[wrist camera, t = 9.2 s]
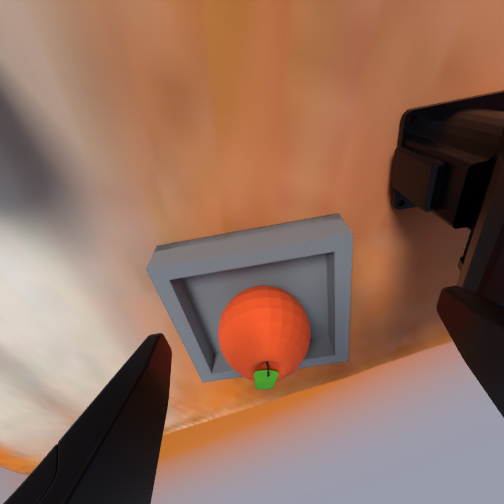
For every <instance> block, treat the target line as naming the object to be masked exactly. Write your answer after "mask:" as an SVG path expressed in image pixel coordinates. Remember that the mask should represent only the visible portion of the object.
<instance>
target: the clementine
mask: <svg viewBox="0 0 504 504" xmlns="http://www.w3.org/2000/svg"><path fill="white" fill-rule="evenodd" d="M310 335H311V333H310V324H309V321H308V317H307V315H306V313H305V311H304V308H303V307H302V306H301V304H300V303H299V302H298V301H297V300H296V299H295V298H294V297H293V296H292V295H291V294H289V293H288V292H286V291H285V290H282V289H279V288H277V287H273V286H265V285H263V286H255V287H251V288H248V289H246V290H244V291H242V292H240V293H238V294H237V295H236V296H235V297H233V298H232V299H231V300H230V302H229V303H228V304H227V306H226V307H225V309H224V311H223V312H222V315H221V319H220V323H219V328H218V337H219V344H220V349H221V351H222V353H223V356H224V358H225V359H226V361H227V362H228V364H229V365H230V366H231V367H232V368H233V369H234V370H235V371H236V372H237V373H239V374H240V375H242V376H244V377H246V378H249V379H251V380H254V381H255V387H256V389H266V390H268V389H271V388H272V387H273V386H274V384H275V382H276V380H279V379H282V378H284V377H286V376H287V375H289V374H290V373H292V372H293V371H295V370H296V369H297V368H298V367H299V365H300V364H301V362H302V361H303V360H304V358H305V356H306V354H307V352H308V348H309V344H310Z"/></svg>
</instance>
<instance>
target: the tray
mask: <svg viewBox="0 0 504 504" xmlns="http://www.w3.org/2000/svg"><path fill="white" fill-rule="evenodd" d="M352 245H353V233H352V231H351V230H350V229H349V227H348V226H347V224H346V223H345V222H344V220H343V219H342V218H341V216H340V215H339V213H338V214H332V215H326V216H321V217H315V218H310V219H304V220H299V221H293V222H287V223H282V224H276V225H271V226H265V227H260V228H254V229H248V230H243V231H237V232H232V233H226V234H221V235H215V236H209V237H204V238H198V239H193V240H187V241H182V242H176V243H170V244H165V245H159V246H157V247H156V249H155V251H154V253H153V255H152V258H151V260H150V262H149V264H148V266H147V269H146V270H147V272H148V274H149V276H150V278H151V280H152V282H153V284H154V286H155V288H156V290H157V292H158V294H159V296H160V298H161V300H162V302H163V304H164V306H165V308H166V310H167V312H168V314H169V316H170V318H171V320H172V322H173V324H174V326H175V328H176V330H177V332H178V334H179V336H180V338H181V340H182V342H183V344H184V346H185V348H186V350H187V352H188V354H189V356H190V358H191V360H192V362H193V364H194V366H195V368H196V370H197V372H198V374H199V376H200V378H201V380H202V382H210V381H217V380H223V379H230V378H237V377H244V376H242V375H240V374H239V373H237V372H236V371H235V370H234V369H233V368H232V367H231V366H230V365H229V364H228V362H227V361H226V359H225V358H224V356H223V353H222V351H221V349H220V344H219V337H218V328H219V323H220V319H221V315H222V312H223V311H224V309H225V307H226V306H227V304H228V303H229V302H230V300H231V299H232V298H233V297H235V296H236V295H237V294H238V293H240V292H242V291H244V290H246V289H248V288H251V287H255V286H263V285H265V286H273V287H277V288H279V289H282V290H285V291H286V292H288V293H289V294H291V295H292V296H293V297H294V298H295V299H296V300H297V301H298V302H299V303H300V304H301V306H302V307H303V308H304V311H305V313H306V315H307V317H308V321H309V324H310V333H311V335H310V344H309V348H308V352H307V354H306V356H305V358H304V360H303V361H302V362H301V364H300V365H299V367H298V368H305V367H312V366H318V365H325V364H332V363H339V362H345V361H348V356H349V328H350V300H351V272H352ZM298 368H297V369H298Z"/></svg>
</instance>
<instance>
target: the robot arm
mask: <svg viewBox="0 0 504 504" xmlns="http://www.w3.org/2000/svg"><path fill="white" fill-rule="evenodd" d="M411 115H414V118H413V120H412V121H411V122H409V117H410V116H411ZM391 186H392V187H393V192H392V200H391V204H392V206H393V207H394V208H395V209H406V208H411V207H417V206H418V207H420V208H421V209H423V210H424V211H425V212H430V211H431V212H432V213H434V214H435V215H437V216H438V217H439V218H441V219H442V220H444V221H445V222H446V223H448V224H449V225H451V226H452V227H453V228H455V229H458V228H464V227H466V228H468V229H469V230H471V232H470V235H469V239H468V242H467V245H466V248H465V251H464V255H463V256H462V257H461V258H460V260H459V263H458V267H459V269H460V272H461V273H460V276H459V279H458V282H457V286H451V287H445V288H443V289H442V290H441V293H440V296H439V300H438V303H437V312H438V314H439V316H440V318H441V320H442V322H443V323H444V325H445V327H446V329H447V331H448V332H449V334H450V336H451V338H452V340H453V342H454V343H455V345H456V347H457V349H458V351H459V352H460V354H461V356H462V357H463V359H464V360H465V362H466V364H467V365H468V367H469V368H470V369H471V371H472V372H473V374H474V375H475V377H476V378H477V380H478V381H479V383H480V384H481V385H482V387H483V388H484V390H485V391H486V392H487V394H488V396H489V397H490V398H491V400H492V401H493V403H494V404H495V405H496V407H497V409H498V410H499V411H500V413H501V414H502V416H503V417H504V90H503V91H498V92H493V93H488V94H483V95H478V96H473V97H468V98H463V99H458V100H453V101H448V102H443V103H438V104H433V105H428V106H423V107H418V108H413V109H409V110H407V111H406V112H405V113H404V114H403V115H402V118H401V125H400V133H399V141H398V147H397V148H396V150H395V155H394V163H393V172H392V181H391ZM400 200H402V201H401V203H399V204H397V203H398V202H399V201H400ZM171 360H172V351H171V348H170V346H169V344H168V342H167V340H166V338H165V337H164V335H163V334H162V333H158V334H152V335H149V336H148V337H147V338H146V339H145V340H144V342H143V343H142V344H141V345H140V346H139V348H138V349H137V350H136V351H135V352H134V353H133V355H132V356H131V357H130V358H129V359H128V360H127V362H126V363H125V364H124V365H123V366H122V368H121V369H120V370H119V371H118V372H117V373H116V375H115V376H114V377H113V378H112V379H111V380H110V382H109V383H108V384H107V385H106V386H105V387H104V389H103V390H102V391H101V392H100V393H99V395H98V396H97V397H96V398H95V399H94V400H93V402H92V403H91V404H90V405H89V406H88V407H87V409H86V410H85V411H84V412H83V413H82V415H81V416H80V417H79V418H78V419H77V420H76V422H75V423H74V424H73V425H72V426H71V427H70V429H69V430H68V431H67V432H66V433H65V435H64V436H63V437H62V438H61V439H60V440H59V442H58V444H56V445H55V446H54V447H53V448H52V450H51V451H50V452H49V453H48V454H47V456H46V457H45V458H44V459H43V460H42V461H41V462H40V464H39V465H38V466H37V467H36V468H35V469H34V470H33V472H32V473H31V474H30V475H29V476H28V477H27V479H26V480H25V481H24V482H23V483H22V484H21V485H20V486H19V487H18V488H17V490H16V491H15V492H14V493H13V494H12V495H11V496H10V497H9V498H8V499H7V500H6V501H5V502H4V503H3V504H150V503H151V497H152V492H153V486H154V480H155V475H156V469H157V464H158V458H159V452H160V447H161V441H162V436H163V430H164V424H165V419H166V413H167V407H168V400H169V388H170V374H171Z"/></svg>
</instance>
